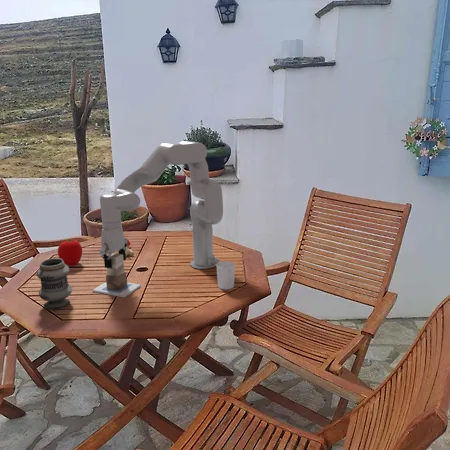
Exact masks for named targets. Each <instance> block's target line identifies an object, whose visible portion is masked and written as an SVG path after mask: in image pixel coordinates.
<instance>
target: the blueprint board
mask: <svg viewBox="0 0 450 450" xmlns="http://www.w3.org/2000/svg"><path fill="white" fill-rule="evenodd" d="M141 287H142V284H138V283H133V282H128V281H127V286H125V287H124V288H122V289H121V290H119V291H117V290H112V289H107V284H106V281H105V282H104V283H102V284H100V285H99V286H97V287H95V288H93V289H92V293H98V294H103V295H109V296H114V297H120V298H126V297H128V296H130V295H131V294H132V293H134V292H136V291H137V290H138V289H140V288H141Z"/></svg>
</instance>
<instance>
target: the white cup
mask: <svg viewBox="0 0 450 450" xmlns="http://www.w3.org/2000/svg"><path fill="white" fill-rule="evenodd" d="M215 267H216V277H217V279H216V280H217V287H218V289H220V290H232V289H233V288H234V286H235V276H236V264H235V262H233V261H227V260H224V261H221V262H219V263H217V264H216V266H215Z"/></svg>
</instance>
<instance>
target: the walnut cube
mask: <svg viewBox="0 0 450 450" xmlns="http://www.w3.org/2000/svg"><path fill="white" fill-rule="evenodd" d="M105 282H106V284H107V289H112V290H117V291H119V290H121V289H122V288H124V287H125V286H127V282H128V276H127V271H124V273H123V274H121V275H119V276H118V277H116V276H110V275H107V274H105Z"/></svg>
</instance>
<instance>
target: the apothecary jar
mask: <svg viewBox="0 0 450 450" xmlns="http://www.w3.org/2000/svg"><path fill="white" fill-rule="evenodd" d="M69 273H70V266H67V265H66V264H64V261H63V259H60V258H59V257H53V258H48V259H44V260H42V261H40V264H39V268H38V269H37V270H36V276H37V278H38V279H40V284H41V286H40V287H41V288H40V289H39V292H38V296H39V297H40V299H41V300H43V301H46V302H45V303H44V304H43V308H44V309H45V310H48V311H55V310H63V309H65V308H68V307H69V306H70V304H71V300H70V299H68V297H70V296H71V294H72V293H73V292H72V291H73V288H72V285H70V283H69V282H68V274H69Z"/></svg>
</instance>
